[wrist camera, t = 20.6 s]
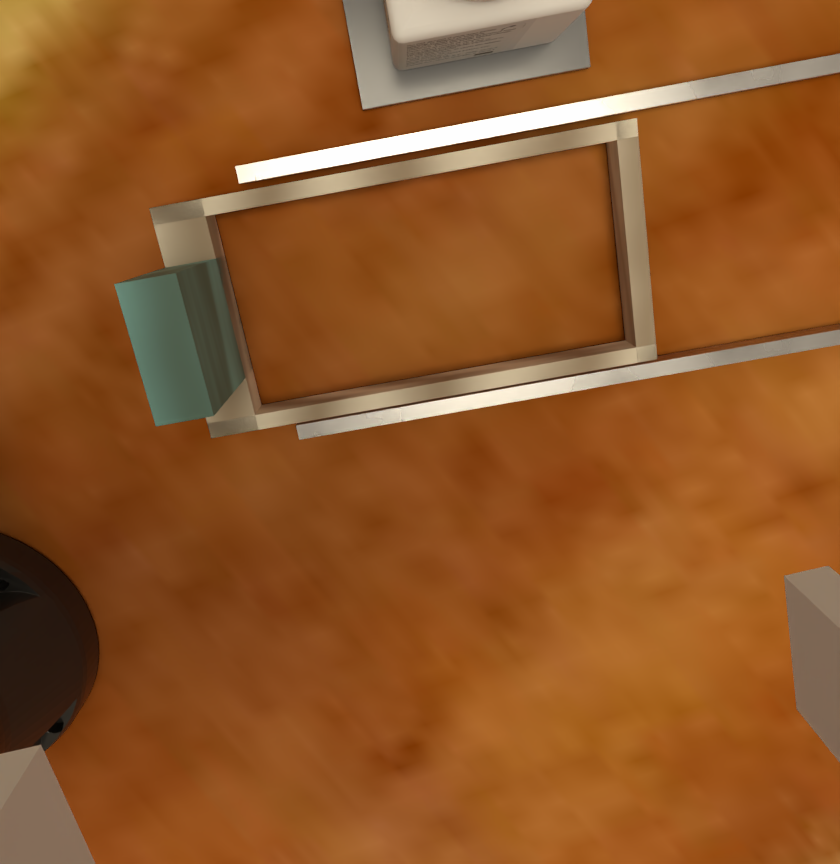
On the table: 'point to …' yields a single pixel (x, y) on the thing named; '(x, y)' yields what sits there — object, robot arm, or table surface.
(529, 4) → the container
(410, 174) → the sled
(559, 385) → the lanes
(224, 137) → the table surface
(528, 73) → the coaster
